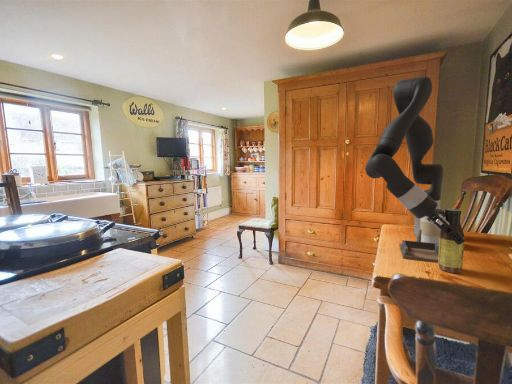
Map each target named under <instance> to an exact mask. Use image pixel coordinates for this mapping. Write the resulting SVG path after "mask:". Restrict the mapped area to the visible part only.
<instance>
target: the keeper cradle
mask: <svg viewBox="0 0 512 384" xmlns="http://www.w3.org/2000/svg"><path fill="white" fill-rule="evenodd" d="M421 233H422V230H421V229H417V236H416V235H415V236H416V239H415V240H404V239H403V240H401V241H402V242H401V243H399V245H398V246H399V250H400V253H401V256H402V259H405V260H412V261H413V260H414V261H422V262H427V263H428V262H430V263H436V264H437V263H438V258H439V245H438V244H437V243H427V242H421ZM438 264H439V263H438Z"/></svg>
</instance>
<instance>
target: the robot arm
mask: <svg viewBox="0 0 512 384" xmlns="http://www.w3.org/2000/svg"><path fill="white" fill-rule="evenodd" d="M432 92H433V82H432V80H431V78H430V77H428V76H419V77H413V78H406V79H405V78H404V79H401V80H398V81H396V83H395V84H394V87H393V94H392V95H393V102H394V104H395V107H396V110H397V112H398V115H397V116H396V117H395V118H394V119H393V120H391V121H390V122H389V123H388V124H387V126H386V127H385V128H384V130H383V132H382V134H381V136H380V138H379V139H378V142H377V145H376V147H375V149H374V150H373V152H372V153H371V155H370V157H369V158H368V160H367V162H366V164H365V169H364V170H365V173H366V175H367V176H368V177H369V178H371V179H380V178H383V180H384V181H385V182H386V184H385V187H386V189H387V190H388V191H389V193H390V194H392V195H393V196H394V197H395V198H396V199H397V200H398V201H399V203H400V204H402V206H403V207H405V208H406V210H408V211H409V212H410V213H411V214H412V215H413V216H414V226H413V227H414V228H413V235H414V236H417V229H421V228H420V219H421V218H423V217H425V216H428V218H427V220H428V221H429V222H430V223H431V224H433V225H435V226H436V227H437V228H438V229H439V230H440V231H443V232H444V233H445V234H446V235H448V236H449V237H450V238H452V239H453V240H454V241H455V242H456V243H457V244H458V245H460V244H462V243H463V242H464V243H465V241H466V240H465V238H464V239H463V238H462V237H461V236H460V235H459V234H458V233H456V231H455V229H453V228H452V227H451V226H450V223H449V222H447V221H446V220H445V219H444V218H443V216H442V215H441V214H440V213H439V212H434V209H440V210H441V194H442V186H443V185H442V184H443V179H444V178H443V177H444V167H443V166H442V164H441V163H422V161H423V159H424V157H425V156H426V155H427V153H429V151H430V149H432V147H433V144H434V136H433V135H434V134H433V129H432V127H431V125H430V124H429V122H428V121H426V120H425V119H424V118H423V117H422V116H420V115H419V114H420V113H421V112H422V110H423V109H424V107H425V106H426V105H427V103H428V101H429V99H430V97H431V94H432ZM404 139H405V142H406V146H407V149H408V152H409V153H408V154H409V157H410V162H411V170H412V178H413V180H414V182H413V181H412V180H411V179H410V178H409V177H407V176H406V175H405V174H404V172H403V169H402V168H401V167H400V166H399V164H398V163H397V162H396V160H395V159H394V158H393V157H394V156H395V155H396V153H398V151H399V149H400V147H401V145H402V144H403V141H404ZM415 183H416V184H415ZM418 184H419V185H431V187H430V188H428V189H426V190H424V189H422V188H421V187H420V186H418ZM448 227H449V228H450V230H449V231H447V232H446V231H445V229H446V228H448Z"/></svg>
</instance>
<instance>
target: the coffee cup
mask: <svg viewBox="0 0 512 384" xmlns="http://www.w3.org/2000/svg"><path fill="white" fill-rule="evenodd" d="M434 212H439V213H440V214H441V215H442V216H443V218H444V219H445V217H446V214H445V210H444V209H441V208H440V209H434ZM427 218H428V216H425V217H423V218H421V219H420V228H421V230H422V233H421V242H427V243H437V244H438V245H439V238H440V230H439V229H438V228H437V227H436V226H435V225H433V224H431V223H430V222H429V221H428V220H427Z"/></svg>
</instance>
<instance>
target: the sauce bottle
mask: <svg viewBox="0 0 512 384" xmlns="http://www.w3.org/2000/svg"><path fill="white" fill-rule="evenodd" d="M444 213H445V214H446V217H445V220H446V221H447V222H449V223H450V226H451V227H452V228H453V229H455V231H456V233H458V234H459V235H460V236H461V237H462V238H463V239H464V240H465V233H464V231H463V227H462V224H461V215H462V210H461V209H458V208H445V210H444ZM449 230H450V228H449V227H448V228H446V229H445V231H446V232H447V231H449ZM464 249H465V241H464V242H463V243H462V244H460V245H458V244H457V243H456V242H455V241H454V240H453V239H452V238H450V237H449V236H448V235H446V234H445V233H444V232H443V231H440V238H439V258H438V268H439V270H442V271H444V272H446V273H447V272H448V273H451V274H459V273H461V272H462V270H463V266H464V265H463V264H464V263H463V262H464Z"/></svg>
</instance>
